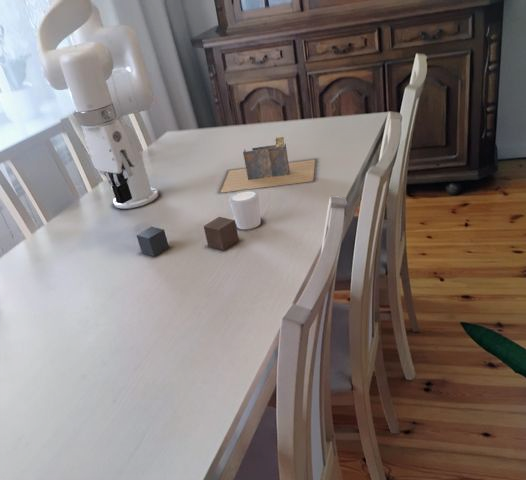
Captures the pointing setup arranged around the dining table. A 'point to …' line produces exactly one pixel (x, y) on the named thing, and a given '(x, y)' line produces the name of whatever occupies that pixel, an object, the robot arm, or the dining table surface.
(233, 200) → the white cylinder
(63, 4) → the robot arm
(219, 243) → the walnut block
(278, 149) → the ruin model on sheet
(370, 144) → the dining table surface
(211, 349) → the dining table surface
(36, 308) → the dining table surface
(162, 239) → the charcoal block
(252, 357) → the dining table surface
